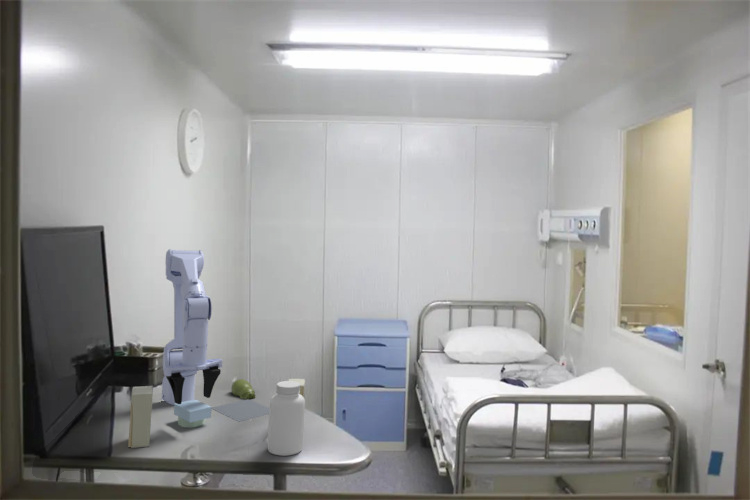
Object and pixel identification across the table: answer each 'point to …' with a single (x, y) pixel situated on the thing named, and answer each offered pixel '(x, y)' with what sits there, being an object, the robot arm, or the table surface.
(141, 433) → the skincare box
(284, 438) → the pill bottle
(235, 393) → the pear
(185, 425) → the bowl
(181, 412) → the block
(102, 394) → the table surface
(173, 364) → the robot arm
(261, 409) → the mat
